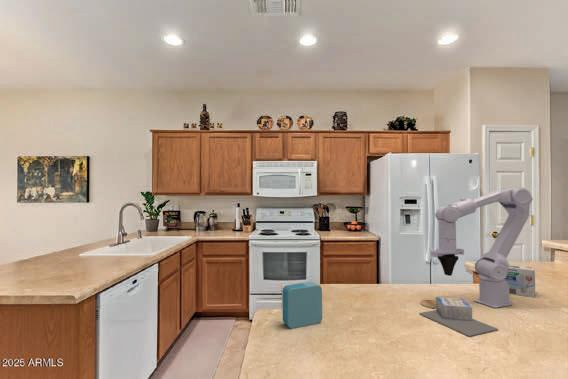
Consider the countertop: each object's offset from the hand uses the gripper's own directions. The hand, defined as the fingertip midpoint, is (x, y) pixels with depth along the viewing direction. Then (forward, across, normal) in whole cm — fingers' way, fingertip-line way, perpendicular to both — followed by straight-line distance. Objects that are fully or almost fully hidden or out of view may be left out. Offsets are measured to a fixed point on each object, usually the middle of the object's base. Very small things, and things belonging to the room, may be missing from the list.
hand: (448, 275), depth 110 cm
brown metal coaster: (+10, +7, -1) cm, 12 cm away
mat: (+10, +12, +13) cm, 21 cm away
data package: (+11, +58, -4) cm, 59 cm away
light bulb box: (+10, -36, +2) cm, 38 cm away
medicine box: (+8, +6, +12) cm, 15 cm away
